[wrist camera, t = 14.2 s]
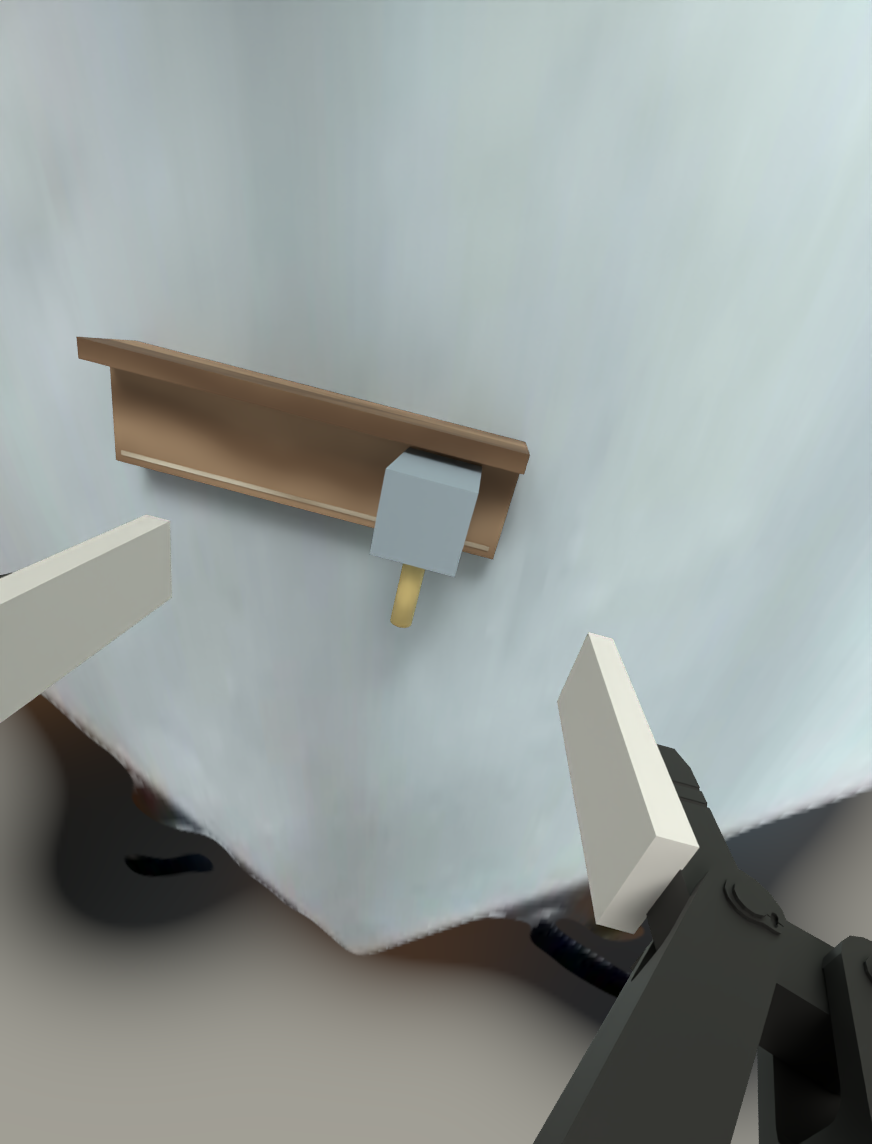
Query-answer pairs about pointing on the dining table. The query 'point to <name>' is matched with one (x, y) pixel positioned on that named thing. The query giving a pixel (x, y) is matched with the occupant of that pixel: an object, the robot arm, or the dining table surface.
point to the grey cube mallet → (423, 520)
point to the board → (287, 437)
